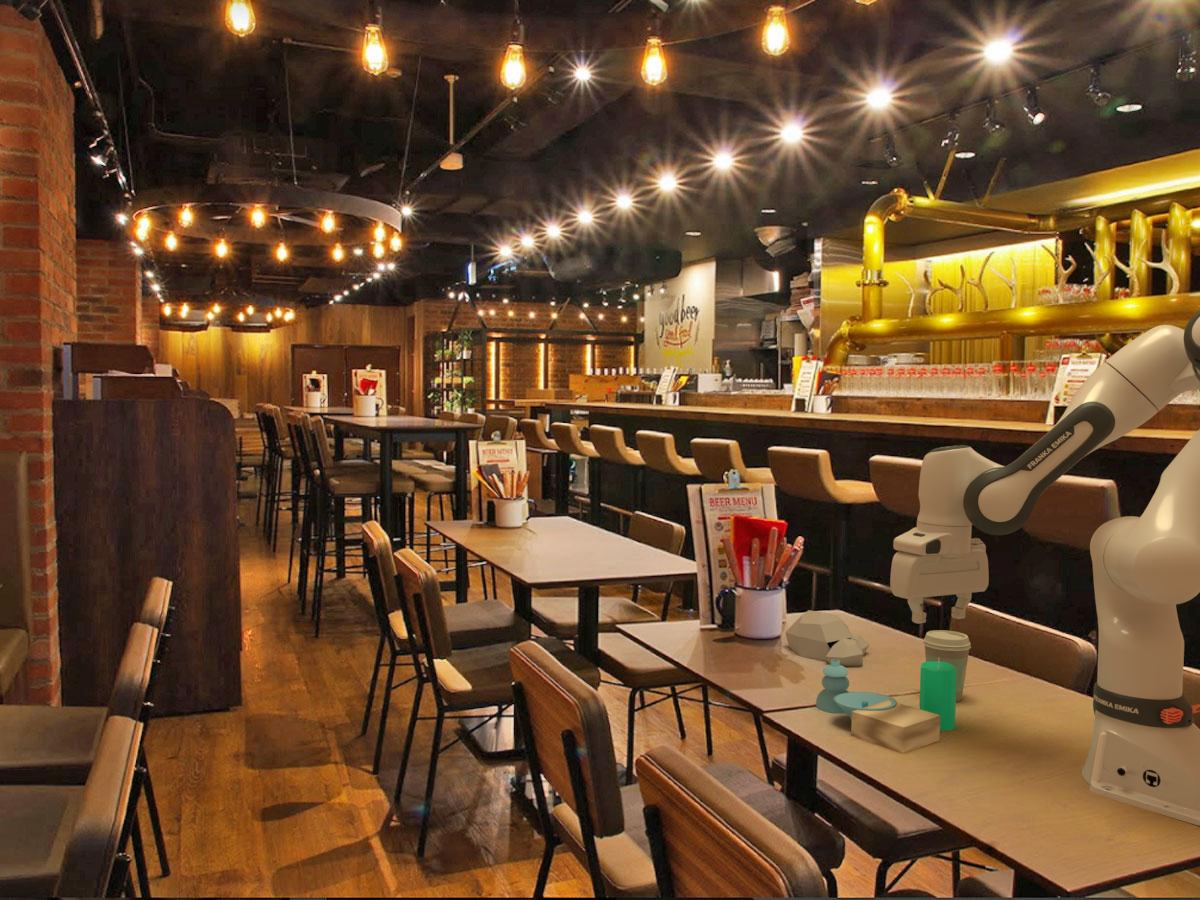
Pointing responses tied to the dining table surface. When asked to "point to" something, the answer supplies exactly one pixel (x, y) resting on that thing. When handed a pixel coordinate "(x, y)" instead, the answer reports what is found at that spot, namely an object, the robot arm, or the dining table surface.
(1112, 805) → the dining table surface
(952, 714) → the candle
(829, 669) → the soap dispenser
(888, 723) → the beech box
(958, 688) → the coffee cup
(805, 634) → the rock
